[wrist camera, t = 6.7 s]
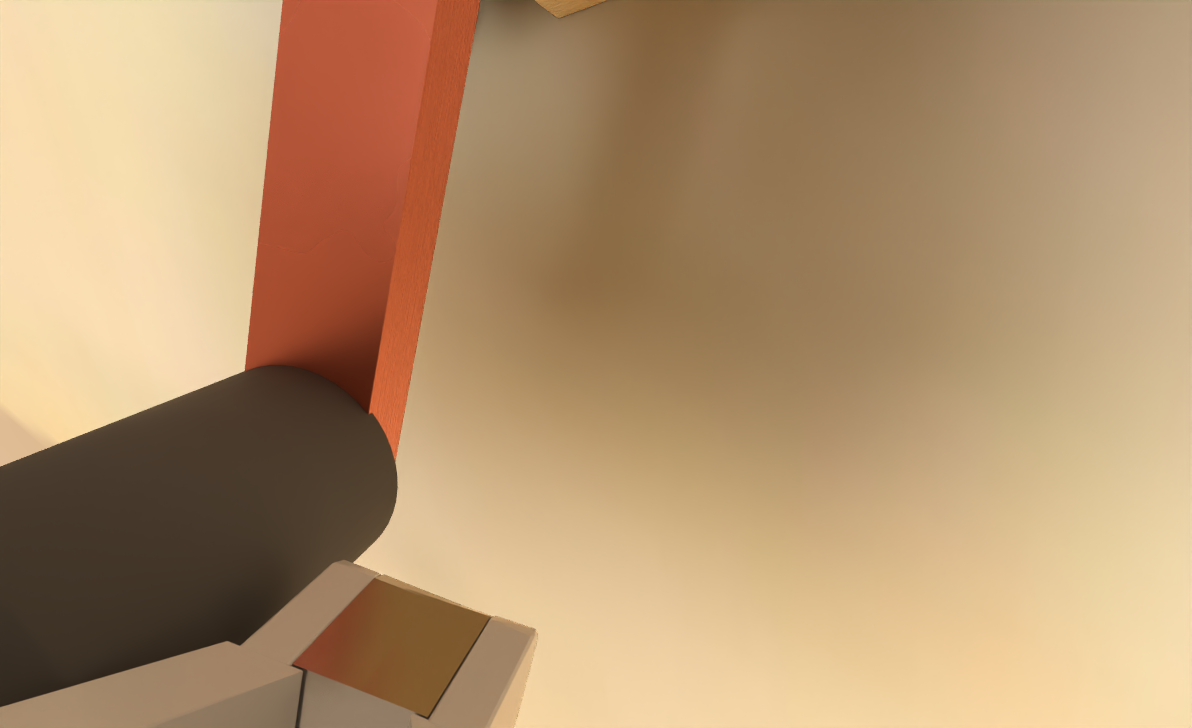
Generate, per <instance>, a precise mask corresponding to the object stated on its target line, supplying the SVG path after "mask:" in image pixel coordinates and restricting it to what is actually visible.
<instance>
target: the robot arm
mask: <svg viewBox="0 0 1192 728" xmlns="http://www.w3.org/2000/svg"><path fill="white" fill-rule="evenodd" d="M537 637H538V633H537V631H536V629H534V628H531V627H528V626H525V625H522V624H519V623H516V622H513V621H510V620H507V619H504V618H501V617H498V616H491V615H488V614H485V613H482V612H480V611H477V610H474V609H471V608H469V607H466V606H463V605H461V604H458V603H455V602H453V601H450V600H448V599H445V598H443V597H440V596H438V595H435V594H433V593H430V592H427V591H425V590H422V589H420V588H417V587H415V586H412V585H410V584H407V583H405V582H402V581H399V580H397V579H394V578H392V577H389V576H387V575H381V574H379V573H377V572H375V571H372V570H370V569H367V568H364V567H362V566H359V565H357V564H354V563H351V562H349V561H346V560H341V561H338V562H334V563H332V564H331V565H330V566H328V567H327V568H326V569H325V570H324V571H323V572H322V573H321V574H320V575H318V576H317V577H316V578H315V579H314V580H313V581H312V582H311V583H310V584H308V585H307V586H306V587H305V588H304V589H303V590H302V591H301V592H299V593H298V594H297V595H296V596H295V597H294V598H293V599H292V600H291V601H289V602H288V603H287V604H286V605H285V606H284V607H283V608H282V609H281V610H279V611H278V612H277V613H276V614H275V615H274V616H273V617H272V618H270V619H269V620H268V621H267V622H266V623H265V624H264V625H263V626H262V627H260V628H259V629H258V630H257V631H256V632H255V633H254V634H253V635H251V636H250V637H249V638H248V639H247V640H246V641H245V642H244V643H243V644H241V645H240V646H239V645H236V644H234V643H231V642H228V641H226V642H222V643H219V644H215V645H212V646H209V647H205V648H202V649H198V650H195V651H191V652H188V653H185V654H181V655H178V656H174V657H171V658H167V659H164V660H161V661H157V662H154V663H150V664H147V665H143V666H140V667H137V668H133V669H130V670H126V671H123V672H119V673H116V674H113V675H109V676H106V677H102V678H99V679H95V680H92V681H89V682H85V683H82V684H78V685H75V686H72V687H68V688H65V689H61V690H58V691H54V692H51V693H48V694H44V695H41V696H37V697H34V698H30V699H27V700H24V701H20V702H17V703H13V704H10V705H6V706H3V707H0V728H514V725H515V722H516V719H517V716H518V713H519V709H520V705H521V701H522V697H523V694H524V690H525V686H526V682H527V678H528V675H529V671H530V667H531V663H532V659H533V656H534V652H535V648H536V644H537Z"/></svg>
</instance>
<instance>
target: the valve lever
mask: <svg viewBox="0 0 1192 728" xmlns="http://www.w3.org/2000/svg"><path fill="white" fill-rule="evenodd" d="M479 5H480V0H283V4H282V14H281V24H280V33H279V43H278V53H277V62H276V72H275V82H274V92H273V101H272V111H271V121H270V131H269V140H268V150H267V160H266V170H265V179H264V189H263V199H262V209H261V218H260V228H259V238H258V248H257V257H256V267H255V277H254V287H253V296H252V306H251V316H250V326H249V335H248V345H247V355H246V365H245V371H244V372H242V373H239V374H237V375H234V376H232V377H229V378H226V379H224V380H221V381H219V382H216V383H214V384H211V385H208V386H206V387H203V388H201V389H198V390H196V391H193V392H191V393H188V394H185V395H183V396H180V397H178V398H175V399H173V400H170V401H167V402H165V403H162V404H160V405H157V406H155V407H152V408H150V409H147V410H144V411H142V412H139V413H137V414H134V415H132V416H129V417H126V418H124V419H121V420H119V421H116V422H114V423H111V424H108V425H106V426H103V427H101V428H98V429H96V430H93V431H91V432H88V433H85V434H83V435H80V436H78V437H75V438H73V439H70V440H67V441H65V442H62V443H60V444H57V445H55V446H52V447H50V448H47V449H44V450H42V451H39V452H37V453H34V454H32V455H29V456H27V457H24V458H21V459H19V460H16V461H14V462H11V463H9V464H6V465H3V466H1V467H0V707H3V706H6V705H10V704H13V703H17V702H20V701H24V700H27V699H30V698H34V697H37V696H41V695H44V694H48V693H51V692H54V691H58V690H61V689H65V688H68V687H72V686H75V685H78V684H82V683H85V682H89V681H92V680H95V679H99V678H102V677H106V676H109V675H113V674H116V673H119V672H123V671H126V670H130V669H133V668H137V667H140V666H143V665H147V664H150V663H154V662H157V661H161V660H164V659H167V658H171V657H174V656H178V655H181V654H185V653H188V652H191V651H195V650H198V649H202V648H205V647H209V646H212V645H215V644H219V643H222V642H226V641H228V642H231V643H234V644H236V645H239V646H240V645H241V644H243V643H244V642H245V641H246V640H247V639H248V638H249V637H250V636H251V635H253V634H254V633H255V632H256V631H257V630H258V629H259V628H260V627H262V626H263V625H264V624H265V623H266V622H267V621H268V620H269V619H270V618H272V617H273V616H274V615H275V614H276V613H277V612H278V611H279V610H281V609H282V608H283V607H284V606H285V605H286V604H287V603H288V602H289V601H291V600H292V599H293V598H294V597H295V596H296V595H297V594H298V593H299V592H301V591H302V590H303V589H304V588H305V587H306V586H307V585H308V584H310V583H311V582H312V581H313V580H314V579H315V578H316V577H317V576H318V575H320V574H321V573H322V572H323V571H324V570H325V569H326V568H327V567H328V566H330V565H331V564H332V563H334V562H338V561H341V560H346V561H349V562H351V563H353V562H354V561H355V560H356V559H357V558H358V557H359V556H360V555H361V554H362V553H363V552H364V551H366V550H367V549H368V548H369V547H370V546H371V545H372V544H373V543H374V542H375V541H376V540H377V538H378V537H379V536H380V535H381V534H382V533H383V531H384V530H385V528H386V526H387V525H388V523H389V521H390V518H391V516H392V514H393V511H394V507H395V503H396V497H397V471H396V464H395V460H396V455H397V450H398V444H399V439H400V433H401V428H402V422H403V417H404V412H405V406H406V401H407V395H408V390H409V385H410V379H411V374H412V368H413V363H414V357H415V352H416V347H417V341H418V336H419V330H420V325H421V320H422V314H423V309H424V303H425V298H426V292H427V287H428V282H429V276H430V271H431V265H432V260H433V254H434V249H435V244H436V238H437V233H438V227H439V222H440V217H441V211H442V206H443V200H444V195H445V189H446V184H447V179H448V173H449V168H450V162H451V157H452V152H453V146H454V141H455V135H456V130H457V124H458V119H459V114H460V108H461V103H462V97H463V92H464V87H465V81H466V76H467V70H468V65H469V59H470V54H471V49H472V43H473V38H474V32H475V27H476V22H477V16H478V11H479Z"/></svg>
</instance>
